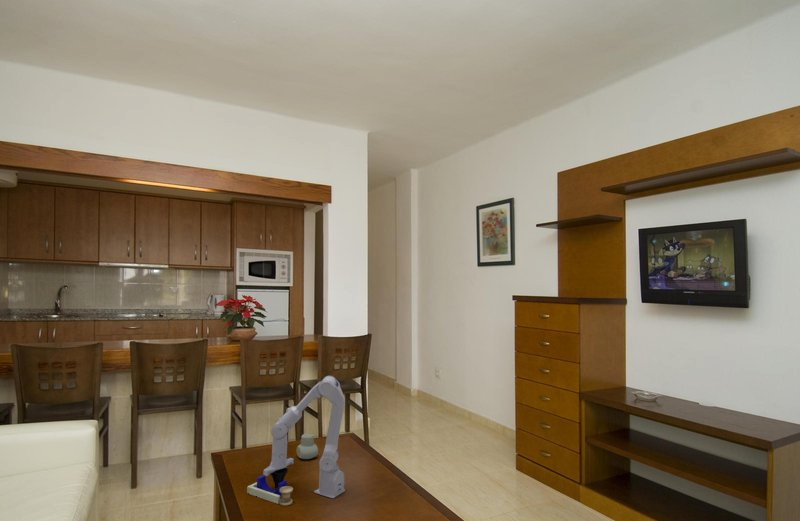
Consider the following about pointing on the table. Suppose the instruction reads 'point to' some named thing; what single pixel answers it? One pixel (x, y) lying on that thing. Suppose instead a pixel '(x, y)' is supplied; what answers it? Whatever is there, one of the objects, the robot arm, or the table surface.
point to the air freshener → (307, 447)
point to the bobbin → (286, 495)
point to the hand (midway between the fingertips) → (278, 488)
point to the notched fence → (263, 493)
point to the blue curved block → (264, 486)
